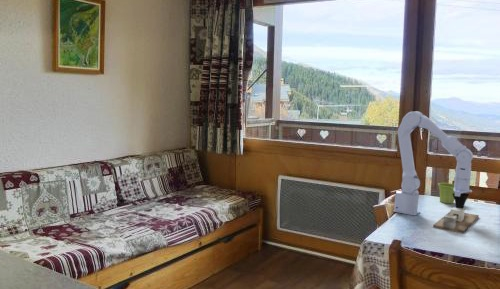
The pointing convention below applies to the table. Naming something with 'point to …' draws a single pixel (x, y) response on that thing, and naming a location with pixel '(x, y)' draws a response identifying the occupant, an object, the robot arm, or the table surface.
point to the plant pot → (446, 192)
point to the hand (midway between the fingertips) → (459, 210)
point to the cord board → (456, 222)
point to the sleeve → (459, 212)
